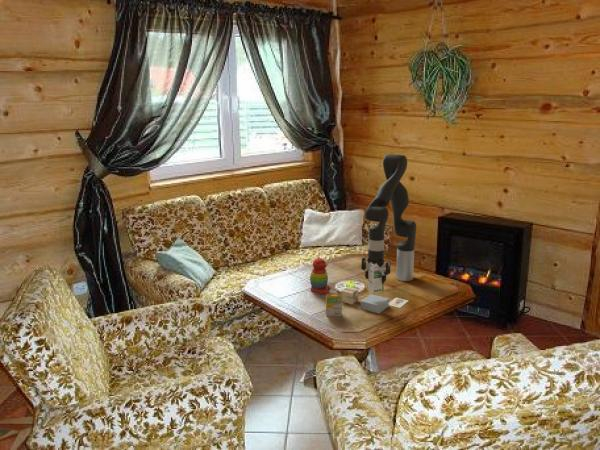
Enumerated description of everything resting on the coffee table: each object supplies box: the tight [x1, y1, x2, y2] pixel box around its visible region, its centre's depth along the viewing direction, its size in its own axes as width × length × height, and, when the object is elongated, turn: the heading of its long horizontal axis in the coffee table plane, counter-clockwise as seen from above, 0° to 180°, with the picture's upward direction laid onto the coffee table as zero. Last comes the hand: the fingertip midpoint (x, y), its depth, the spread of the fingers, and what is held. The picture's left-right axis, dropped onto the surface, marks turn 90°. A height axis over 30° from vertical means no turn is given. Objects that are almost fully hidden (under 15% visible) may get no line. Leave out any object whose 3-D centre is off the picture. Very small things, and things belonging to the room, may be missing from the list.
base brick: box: [360, 293, 390, 314], centre depth 244 cm, size 10×10×4 cm
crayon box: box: [325, 292, 343, 317], centre depth 236 cm, size 7×3×12 cm, turn 92°
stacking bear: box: [309, 256, 331, 295], centre depth 264 cm, size 11×10×18 cm
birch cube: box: [341, 286, 359, 305], centre depth 251 cm, size 6×6×6 cm
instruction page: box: [389, 297, 409, 309], centre depth 249 cm, size 10×7×1 cm
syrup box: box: [367, 262, 385, 294], centre depth 240 cm, size 6×6×14 cm
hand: (375, 280), depth 241 cm, fingers closed on syrup box, 8 cm apart
